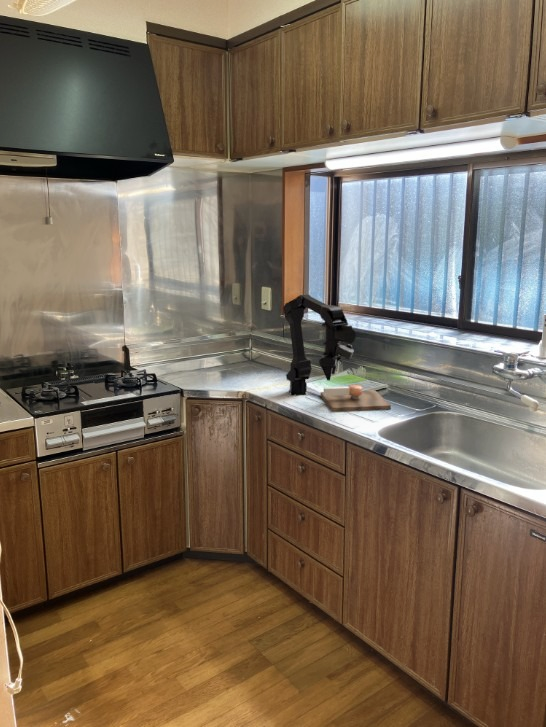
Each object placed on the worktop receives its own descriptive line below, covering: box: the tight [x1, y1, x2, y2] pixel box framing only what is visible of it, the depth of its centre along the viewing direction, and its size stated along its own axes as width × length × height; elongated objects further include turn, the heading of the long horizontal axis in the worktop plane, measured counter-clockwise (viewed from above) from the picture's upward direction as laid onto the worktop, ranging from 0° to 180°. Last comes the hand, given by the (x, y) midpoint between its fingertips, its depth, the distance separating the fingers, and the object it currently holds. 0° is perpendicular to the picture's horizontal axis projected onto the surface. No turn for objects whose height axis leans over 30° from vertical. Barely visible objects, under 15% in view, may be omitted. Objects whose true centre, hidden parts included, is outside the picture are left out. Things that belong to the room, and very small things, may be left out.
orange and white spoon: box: [323, 384, 363, 396], centre depth 245 cm, size 16×6×3 cm, turn 99°
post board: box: [320, 389, 392, 412], centre depth 247 cm, size 24×20×3 cm
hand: (330, 377), depth 238 cm, fingers open, 9 cm apart
